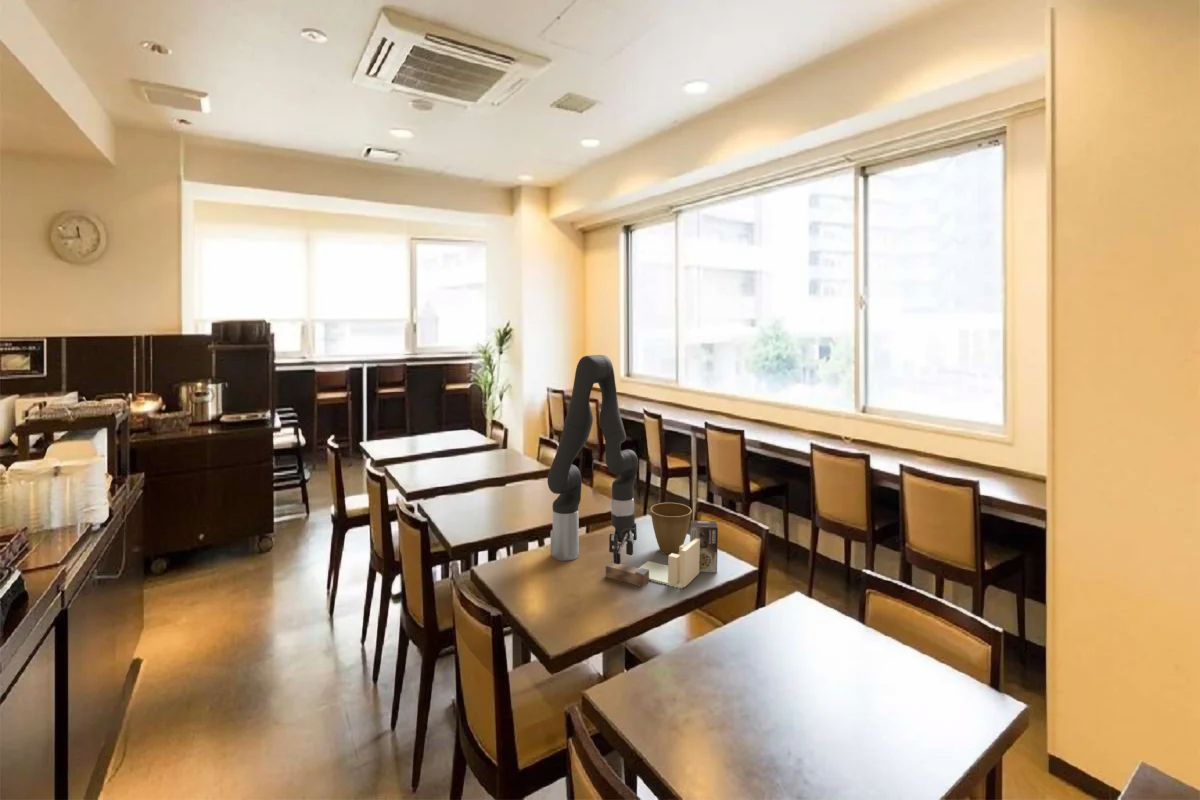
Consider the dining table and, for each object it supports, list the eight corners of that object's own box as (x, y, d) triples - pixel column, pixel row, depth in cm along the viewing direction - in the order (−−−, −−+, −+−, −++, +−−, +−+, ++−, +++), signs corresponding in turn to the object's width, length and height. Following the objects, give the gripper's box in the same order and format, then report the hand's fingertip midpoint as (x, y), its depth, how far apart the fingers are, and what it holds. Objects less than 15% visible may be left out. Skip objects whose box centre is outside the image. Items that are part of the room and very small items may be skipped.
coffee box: (715, 565, 207) (717, 520, 205) (717, 573, 201) (718, 527, 199) (689, 564, 208) (690, 519, 206) (689, 572, 202) (691, 526, 200)
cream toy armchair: (631, 575, 199) (632, 539, 197) (648, 563, 209) (648, 528, 207) (684, 589, 189) (685, 551, 187) (698, 575, 199) (700, 538, 197)
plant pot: (644, 545, 225) (645, 504, 223) (681, 541, 229) (682, 501, 226) (657, 560, 211) (658, 517, 208) (697, 556, 214) (698, 514, 212)
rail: (605, 577, 198) (605, 564, 198) (611, 573, 202) (612, 560, 201) (643, 587, 191) (643, 574, 190) (648, 582, 194) (649, 569, 194)
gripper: (623, 503, 202) (623, 549, 204) (601, 515, 190) (602, 564, 192) (643, 507, 198) (643, 553, 200) (622, 519, 186) (622, 569, 188)
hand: (623, 559), depth 196 cm, fingers open, 8 cm apart
